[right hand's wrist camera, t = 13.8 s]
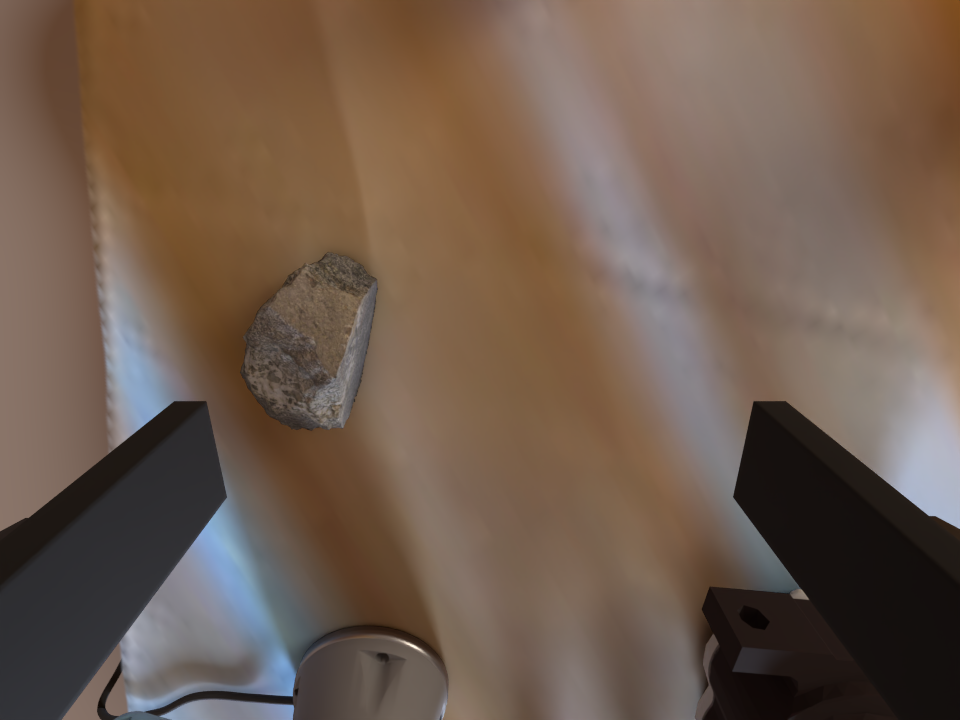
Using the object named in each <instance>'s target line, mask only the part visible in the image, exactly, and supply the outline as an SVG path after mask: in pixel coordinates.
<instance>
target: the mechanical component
mask: <svg viewBox="0 0 960 720" xmlns="http://www.w3.org/2000/svg"><path fill="white" fill-rule="evenodd" d="M702 611H703V613H704V615H705V617H706V619H707V621H708V623H709V625H710V627H711V629H712V631H713V635H712V636H711V638H710V640H709V641H708V643H707V644H706V647H705V653H704V659H703V666H704V669H705V673H706V676H707V680H708V683H709V686H708V687H707V689H706V691H705V692H704V694H703V695H702V697H701V698H700V700H699V702H698V705H697V710H696V715H695V719H696V720H898V718H897V717H896V716H895V714H894V713H893V712H892V710H891V709H890V708H889V706H888V705H887V704H886V702H885V701H884V700H883V698H882V697H881V696H880V694H879V693H878V691H877V690H876V689H875V687H874V686H873V685H872V683H871V682H870V681H869V679H868V678H867V677H866V675H865V674H864V673H863V671H862V670H861V669H860V667H859V666H858V665H857V663H856V662H855V661H854V659H853V658H852V657H851V655H850V654H849V652H848V651H847V650H846V648H845V647H844V646H843V644H842V643H841V642H840V640H839V639H838V638H837V636H836V635H835V634H834V632H833V631H832V630H831V628H830V627H829V626H828V624H827V623H826V622H825V620H824V619H823V617H822V616H821V615H820V613H819V612H818V611H817V609H816V608H815V607H814V605H813V604H812V603H811V601H810V600H809V599H808V597H807V596H806V595H805V593H804V592H803V591H802V590H801V589H796V590H793V591H791V592H790V594H786V593H775V592H764V591H753V590H742V589H730V588H719V587H710V588H709V590H708V593H707V596H706V599H705V602H704V604H703V607H702Z"/></svg>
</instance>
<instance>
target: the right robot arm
mask: <svg viewBox="0 0 960 720" xmlns="http://www.w3.org/2000/svg"><path fill="white" fill-rule="evenodd" d="M226 498H227V496H226V491H225V486H224V482H223V477H222V472H221V468H220V463H219V458H218V454H217V449H216V444H215V440H214V435H213V430H212V426H211V421H210V416H209V412H208V407H207V402H206V401H174V402H173V403H172V404H170V405H169V406H168V407H167V408H165V409H164V410H163V411H162V412H160V413H159V414H158V415H157V416H155V417H154V418H153V419H152V420H150V421H149V422H148V423H147V424H145V425H144V426H143V427H142V428H140V429H139V430H138V431H137V432H135V433H134V434H133V435H132V436H130V437H129V438H128V439H127V440H125V441H124V442H123V443H122V444H120V445H119V446H118V447H117V448H115V449H114V450H113V451H112V452H110V453H109V454H108V455H107V456H106V457H104V458H103V459H102V460H101V461H99V462H98V463H97V464H96V465H94V466H93V467H92V468H91V469H89V470H88V471H87V472H86V473H84V474H83V475H82V476H81V477H79V478H78V479H77V480H76V481H74V482H73V483H72V484H71V485H69V486H68V487H67V488H66V489H64V490H63V491H62V492H61V493H59V494H58V495H57V496H56V497H54V498H53V499H52V500H51V501H49V502H48V503H47V504H46V505H44V506H43V507H42V508H41V509H39V510H38V511H37V512H36V513H34V514H33V515H32V516H31V517H29V518H25V519H23V520H21V521H19V522H17V523H15V524H13V525H11V526H10V527H8V528H6V529H4V530H2V531H0V720H62V718H63V717H64V716H65V714H66V713H67V712H68V710H69V709H70V708H71V706H72V705H73V704H74V702H75V701H76V700H77V698H78V697H79V696H80V694H81V693H82V691H83V690H84V689H85V687H86V686H87V685H88V683H89V682H90V681H91V679H92V678H93V677H94V675H95V674H96V673H97V671H98V670H99V669H100V667H101V666H102V664H103V663H104V662H105V661H106V659H107V658H108V657H109V655H110V654H111V652H112V651H113V650H114V648H115V647H116V646H117V644H118V643H119V642H120V640H121V639H122V638H123V636H124V635H125V634H126V632H127V631H128V630H129V628H130V627H131V626H132V624H133V623H134V622H135V620H136V619H137V617H138V616H139V615H140V613H141V612H142V611H143V609H144V608H145V607H146V605H147V604H148V603H149V601H150V600H151V599H152V597H153V596H154V595H155V593H156V592H157V591H158V589H159V588H160V587H161V585H162V584H163V582H164V581H165V580H166V578H167V577H168V576H169V574H170V573H171V572H172V570H173V569H174V568H175V566H176V565H177V564H178V562H179V561H180V560H181V558H182V557H183V556H184V554H185V553H186V552H187V550H188V549H189V547H190V546H191V545H192V543H193V542H194V541H195V539H196V538H197V537H198V535H199V534H200V533H201V531H202V530H203V529H204V527H205V526H206V525H207V523H208V522H209V521H210V519H211V518H212V517H213V515H214V514H215V513H216V511H217V510H218V508H219V507H220V506H221V504H222V503H223V502H224V500H225V499H226ZM733 498H734V499H735V500H736V502H737V503H738V504H739V506H740V507H741V508H742V510H743V511H744V513H745V514H746V515H747V517H748V518H749V519H750V521H751V522H752V523H753V525H754V526H755V527H756V529H757V530H758V531H759V533H760V534H761V535H762V537H763V538H764V539H765V541H766V542H767V543H768V545H769V546H770V548H771V549H772V550H773V552H774V553H775V554H776V556H777V557H778V558H779V560H780V561H781V562H782V564H783V565H784V566H785V568H786V569H787V570H788V572H789V573H790V574H791V576H792V577H793V578H794V580H795V581H796V582H797V584H798V585H799V587H800V588H801V589H802V591H803V592H804V593H805V595H806V596H807V597H808V599H809V600H810V601H811V603H812V604H813V605H814V607H815V608H816V609H817V611H818V612H819V613H820V615H821V616H822V617H823V619H824V620H825V622H826V623H827V624H828V626H829V627H830V628H831V630H832V631H833V632H834V634H835V635H836V636H837V638H838V639H839V640H840V642H841V643H842V644H843V646H844V647H845V648H846V650H847V651H848V652H849V654H850V655H851V657H852V658H853V659H854V661H855V662H856V663H857V665H858V666H859V667H860V669H861V670H862V671H863V673H864V674H865V675H866V677H867V678H868V679H869V681H870V682H871V683H872V685H873V686H874V687H875V689H876V690H877V691H878V693H879V694H880V696H881V697H882V698H883V700H884V701H885V702H886V704H887V705H888V706H889V708H890V709H891V710H892V712H893V713H894V714H895V716H896V717H897V718H898V720H960V529H958V528H957V527H955V526H953V525H951V524H949V523H947V522H945V521H943V520H941V519H940V518H938V517H936V516H928V515H927V514H926V513H924V512H923V511H922V510H921V509H919V508H918V507H917V506H916V505H914V504H913V503H912V502H911V501H909V500H908V499H907V498H906V497H904V496H903V495H902V494H901V493H899V492H898V491H897V490H896V489H894V488H893V487H892V486H891V485H889V484H888V483H887V482H886V481H884V480H883V479H882V478H881V477H879V476H878V475H877V474H876V473H874V472H873V471H872V470H871V469H869V468H868V467H867V466H866V465H864V464H863V463H862V462H861V461H859V460H858V459H857V458H856V457H854V456H853V455H852V454H851V453H850V452H848V451H847V450H846V449H845V448H843V447H842V446H841V445H840V444H838V443H837V442H836V441H835V440H833V439H832V438H831V437H830V436H828V435H827V434H826V433H825V432H823V431H822V430H821V429H820V428H818V427H817V426H816V425H815V424H813V423H812V422H811V421H810V420H808V419H807V418H806V417H805V416H803V415H802V414H801V413H800V412H798V411H797V410H796V409H795V408H793V407H792V406H791V405H790V404H788V403H787V402H786V401H754V402H753V407H752V412H751V416H750V421H749V426H748V430H747V435H746V440H745V444H744V449H743V454H742V458H741V463H740V468H739V472H738V477H737V482H736V486H735V491H734V496H733ZM122 671H123V670H122V659H121V661H120V662H119V664H118V666H117V668H116V670H115V672H114V674H113V675H112V677H111V679H110V680H109V682H108V684H107V686H106V687H105V689H104V690H103V692H102V694H101V696H100V699H99V702H98V706H97V712H98V716H99V717H100V719H101V720H170V719H166V718H163V717H159V716H162V715H164V714H167V713H169V712H171V711H173V710H174V709H176V708H178V707H180V706H182V705H184V704H186V703H189V702H192V701H197V700H207V699H219V700H231V701H241V702H255V703H268V704H281V705H294V714H293V720H442V718H443V716H444V713H445V708H446V704H447V698H448V674H447V671H446V668H445V666H444V664H443V662H442V660H441V659H440V657H439V656H438V655H437V653H436V652H435V651H434V650H433V649H432V648H430V647H429V646H428V645H427V644H425V643H424V642H423V641H421V640H419V639H418V638H416V637H414V636H412V635H410V634H407V633H405V632H402V631H399V630H396V629H391V628H386V627H379V626H357V627H350V628H345V629H341V630H338V631H335V632H333V633H330V634H328V635H326V636H324V637H323V638H321V639H319V640H318V641H317V642H315V643H314V644H313V645H312V646H311V647H310V648H309V649H308V650H307V652H306V653H305V655H304V656H303V658H302V661H301V663H300V666H299V669H298V672H297V674H296V678H295V684H294V689H293V696H275V695H262V694H247V693H237V692H226V691H204V692H197V693H192V694H189V695H186V696H184V697H182V698H180V699H178V700H176V701H174V702H173V703H171V704H169V705H167V706H165V707H162V708H159V709H155V710H150V711H146V712H142V711H134V712H128V713H125V714H123V715H121V716H113V715H110V714H109V713H108V712H107V711H106V708H105V704H106V701H107V698H108V696H109V694H110V692H111V690H112V688H113V687H114V685H115V683H116V682H117V680H118V678H119V676H120V675H121V673H122Z"/></svg>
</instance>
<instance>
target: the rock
mask: <svg viewBox="0 0 960 720" xmlns="http://www.w3.org/2000/svg"><path fill="white" fill-rule="evenodd" d="M377 290H378V288H377V280H376V279H375V278H374V277H372V276H370V275H368V274H367V272H366V271H365V269H364V267H363V266H362V265H361V264H359V263H357V262H355V261H353V260H352V259H350V258H349V257H347V256H338V254H333V253H330V252H328V253H326V254H325V256H324V257H323V258H322V259H321V260H320V261H319V262H316V263H313V264H311V265H308V264H307V263H305V264H304V265H303V267H302V268H299V269H298V270H297V271H294V272H293V273H292V274H290V275H289V276H288V278H287V280H286V281H285V283H284V285H283V286H282V288H280V289H279V290H278V291H277V293H275V294H274V295H273V296H272V297H271V298H270V299H269V300H268V301H267V302H266V303H264V304H263V305H262V306H261V307H260V309H259V310H258V312H257V314H256V317H255V320H254V322H253V324H252V325H251V326H250V328H249V329H248V331H247V332H246V334H245V335H244V336H243V339H244V340H245V342H246V343H247V344H246V349H245V357H244V363H243V365H242V367H241V372H240V373H241V375H242V378H244V379H245V382H246V384H247V387H248V389H249V390H250V391H251V392H252V394H253V395H254V397H255V398H256V400H257V401H258V403H259V404H260V405H261V406H262V407H263V408H264V409H265V411H266V413H267V414H268V415H269V416H270V417H272V418H274V419H276V420H279V421H280V422H281V424H283V425H287V426H289V427H291V429H295V430H298V429H301V428H305V429H308V430H310V431H312V430H313V429H314V428H318V427H321V428H323V429H327V430H329V429H331V428H338V427H339V428H342V429H343V428H344V425H345V422H346V420H347V419H348V418H349V415H350V411H351V408H352V404H353V402H355V399H354V397H355V396H357V395H356V394H357V392H358V388H359V386H360V383H361V381H362V380H361V377H362V376H361V375H362V374H363V373H362V371H363V367H364V360H365V356H366V354H367V351H366V350H367V348H368V345H369V344H368V343H369V337H370V332H371V328H372V319H373V316H374V314H373V313H374V309H375V302H376V293H377ZM335 377H336V379H335ZM346 423H347V422H346Z"/></svg>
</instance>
